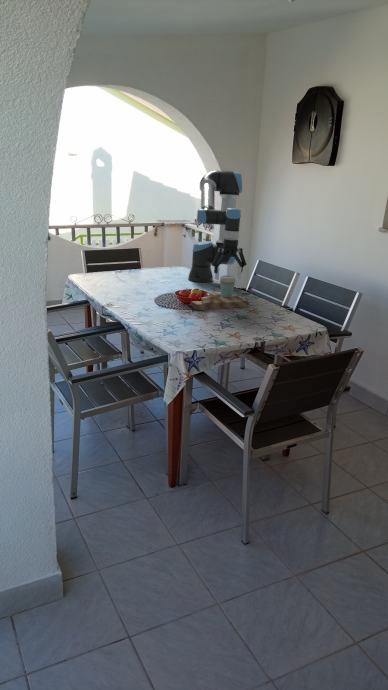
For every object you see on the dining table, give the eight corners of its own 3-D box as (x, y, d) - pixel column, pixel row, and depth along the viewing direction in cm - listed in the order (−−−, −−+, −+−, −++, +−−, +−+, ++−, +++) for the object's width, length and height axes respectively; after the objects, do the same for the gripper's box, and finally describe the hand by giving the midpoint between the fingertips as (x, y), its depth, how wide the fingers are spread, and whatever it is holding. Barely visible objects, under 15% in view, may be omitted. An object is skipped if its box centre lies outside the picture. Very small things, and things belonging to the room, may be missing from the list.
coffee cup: (236, 298, 279) (238, 277, 275) (229, 301, 272) (231, 279, 268) (222, 295, 283) (224, 274, 279) (215, 298, 276) (217, 276, 272)
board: (238, 301, 274) (239, 295, 273) (248, 306, 266) (248, 300, 265) (187, 304, 261) (188, 299, 260) (196, 310, 253) (196, 304, 252)
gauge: (217, 299, 264) (217, 291, 263) (223, 301, 260) (224, 294, 259) (198, 301, 257) (198, 293, 256) (204, 304, 253) (205, 296, 252)
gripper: (247, 237, 275) (244, 276, 282) (206, 237, 265) (203, 278, 272) (255, 239, 269) (251, 279, 276) (213, 240, 258) (210, 281, 265)
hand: (227, 278), depth 274 cm, fingers open, 13 cm apart
